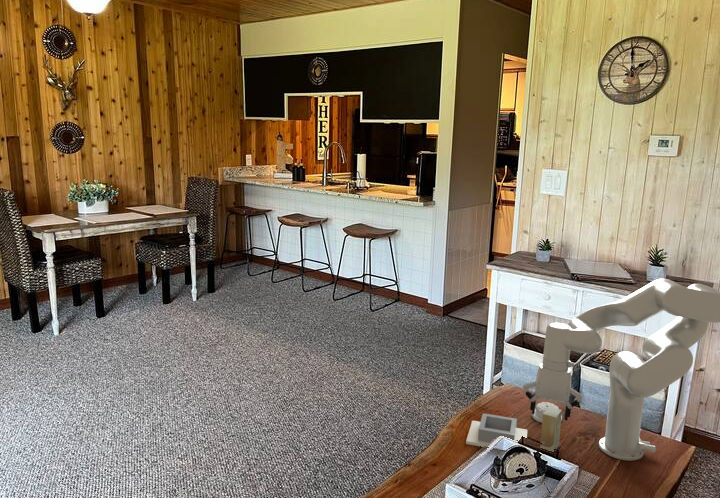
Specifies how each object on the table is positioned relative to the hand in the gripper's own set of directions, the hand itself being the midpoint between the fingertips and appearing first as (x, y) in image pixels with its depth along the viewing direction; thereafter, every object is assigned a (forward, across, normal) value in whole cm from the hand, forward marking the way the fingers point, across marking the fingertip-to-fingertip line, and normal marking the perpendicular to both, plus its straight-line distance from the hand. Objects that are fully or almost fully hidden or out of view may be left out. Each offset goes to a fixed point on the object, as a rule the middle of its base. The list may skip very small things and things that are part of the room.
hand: (549, 415), depth 173 cm
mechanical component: (+11, 0, -20) cm, 23 cm away
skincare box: (+11, -1, 0) cm, 11 cm away
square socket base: (+11, +15, 0) cm, 19 cm away
